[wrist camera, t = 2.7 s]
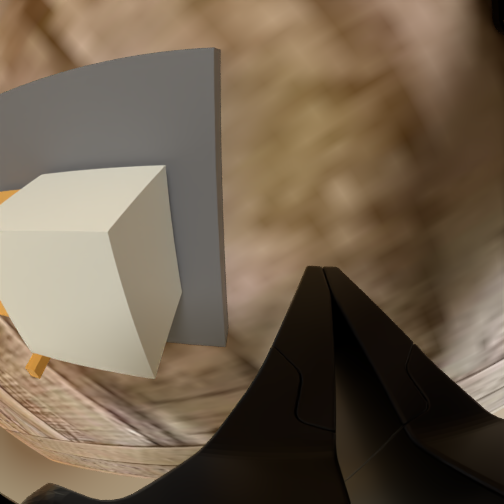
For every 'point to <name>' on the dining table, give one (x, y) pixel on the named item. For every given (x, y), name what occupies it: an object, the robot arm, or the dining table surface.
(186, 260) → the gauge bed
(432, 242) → the dining table surface
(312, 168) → the dining table surface
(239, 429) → the robot arm
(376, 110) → the dining table surface
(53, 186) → the block
